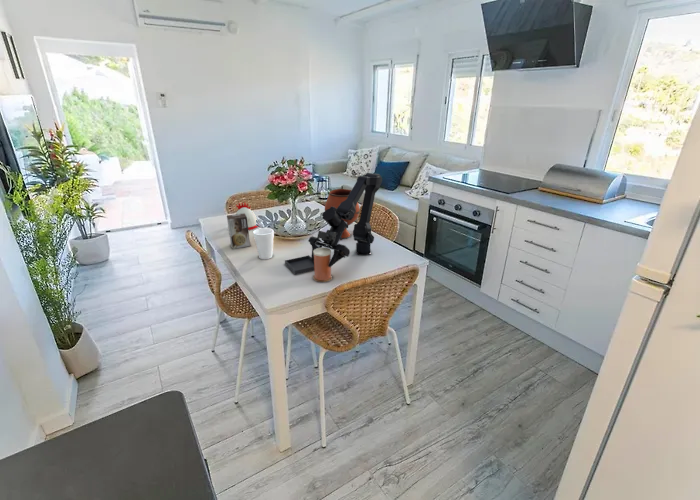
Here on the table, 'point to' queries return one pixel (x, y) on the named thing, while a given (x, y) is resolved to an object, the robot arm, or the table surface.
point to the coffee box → (238, 230)
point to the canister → (322, 263)
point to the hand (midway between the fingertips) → (320, 264)
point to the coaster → (322, 280)
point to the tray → (300, 264)
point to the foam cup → (264, 242)
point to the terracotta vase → (335, 201)
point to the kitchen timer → (248, 215)
